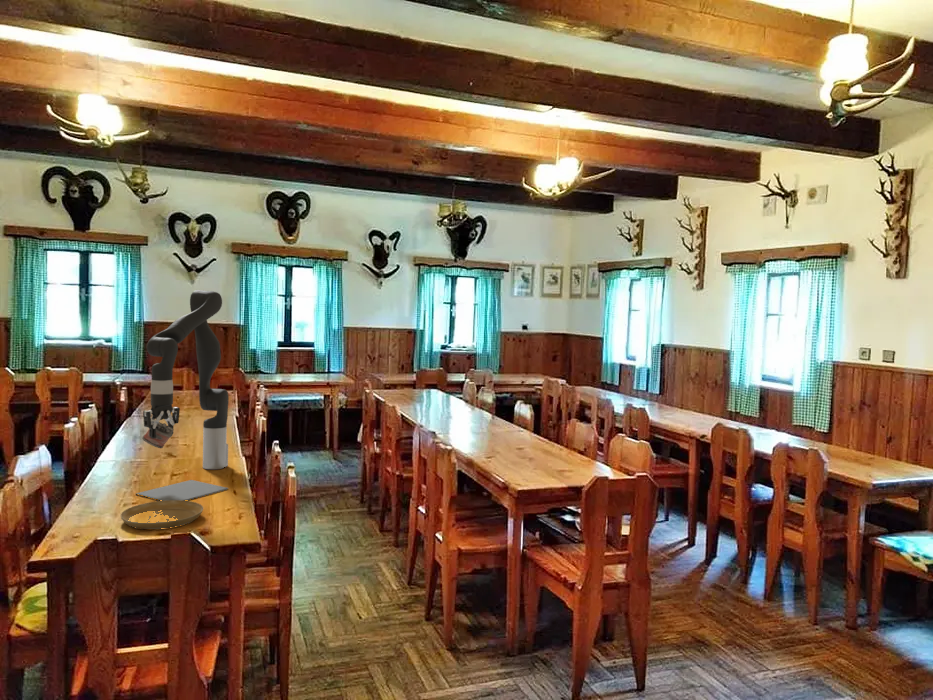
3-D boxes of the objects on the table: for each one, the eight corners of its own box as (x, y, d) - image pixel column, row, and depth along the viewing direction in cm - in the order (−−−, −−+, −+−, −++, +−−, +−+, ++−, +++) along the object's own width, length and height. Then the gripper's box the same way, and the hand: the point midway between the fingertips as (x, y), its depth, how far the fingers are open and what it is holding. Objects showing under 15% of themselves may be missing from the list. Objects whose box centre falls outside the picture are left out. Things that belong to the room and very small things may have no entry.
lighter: (141, 440, 252) (153, 423, 249) (144, 434, 255) (156, 417, 251) (161, 450, 256) (174, 433, 252) (164, 444, 258) (177, 427, 255)
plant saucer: (113, 535, 204) (113, 524, 204) (128, 511, 227) (128, 501, 227) (199, 530, 211) (199, 520, 211) (205, 508, 234) (206, 498, 234)
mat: (191, 481, 266) (191, 479, 266) (228, 489, 257) (228, 487, 257) (135, 495, 245) (135, 493, 245) (173, 504, 236) (173, 502, 236)
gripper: (151, 394, 244) (150, 441, 245) (185, 391, 256) (184, 435, 257) (137, 392, 247) (137, 438, 248) (171, 389, 260) (171, 433, 261)
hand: (161, 436), depth 253 cm, fingers closed on lighter, 6 cm apart
